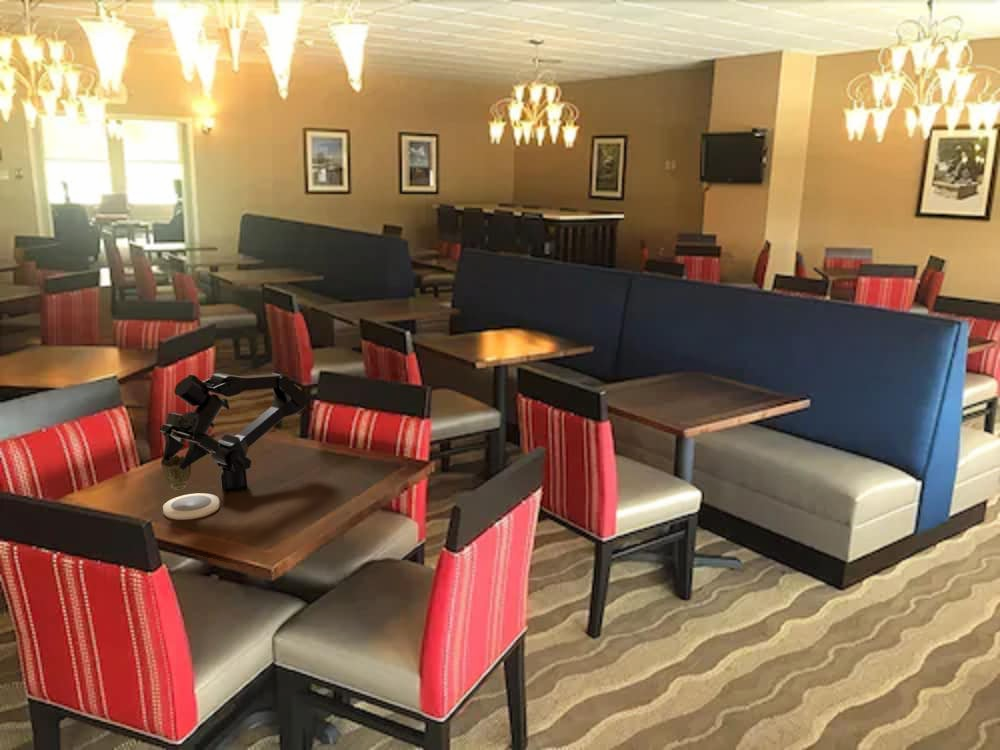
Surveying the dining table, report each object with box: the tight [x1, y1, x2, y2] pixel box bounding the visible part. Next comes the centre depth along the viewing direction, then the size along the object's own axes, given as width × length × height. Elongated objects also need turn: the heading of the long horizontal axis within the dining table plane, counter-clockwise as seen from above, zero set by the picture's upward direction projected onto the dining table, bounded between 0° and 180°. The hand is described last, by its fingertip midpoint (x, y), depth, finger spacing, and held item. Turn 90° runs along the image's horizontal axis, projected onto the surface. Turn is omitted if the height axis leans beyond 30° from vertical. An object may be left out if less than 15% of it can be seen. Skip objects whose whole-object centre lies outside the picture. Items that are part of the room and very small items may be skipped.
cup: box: [160, 454, 192, 491], centre depth 213 cm, size 8×7×8 cm
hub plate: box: [162, 492, 220, 521], centre depth 214 cm, size 14×14×2 cm
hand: (172, 465), depth 211 cm, fingers closed on cup, 7 cm apart
